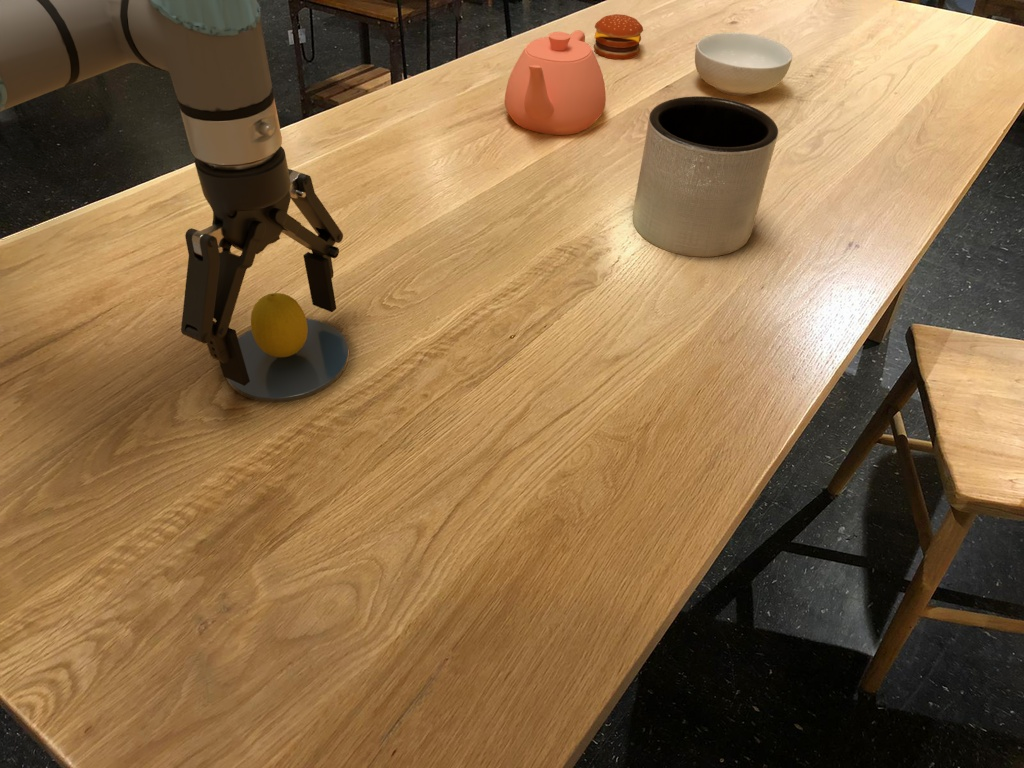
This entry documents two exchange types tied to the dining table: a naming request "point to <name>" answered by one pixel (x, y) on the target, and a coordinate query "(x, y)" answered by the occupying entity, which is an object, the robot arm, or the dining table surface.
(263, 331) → the lemon
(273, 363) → the plate
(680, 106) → the planter
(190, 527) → the dining table surface
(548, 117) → the teapot
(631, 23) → the hamburger
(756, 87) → the cereal bowl
